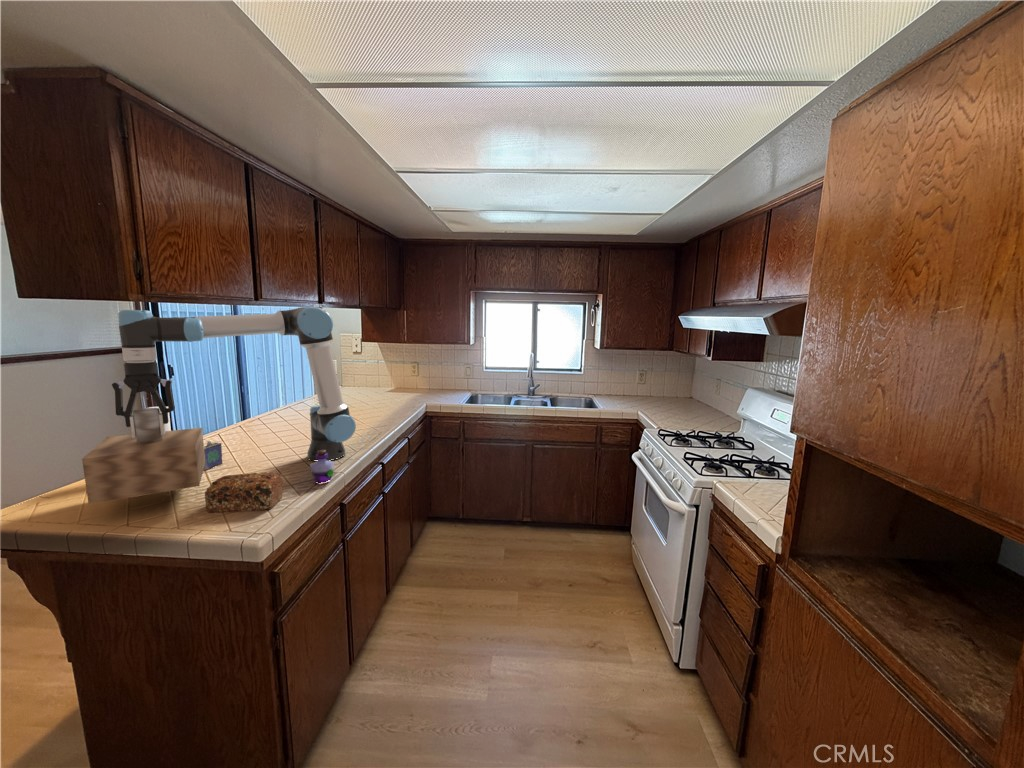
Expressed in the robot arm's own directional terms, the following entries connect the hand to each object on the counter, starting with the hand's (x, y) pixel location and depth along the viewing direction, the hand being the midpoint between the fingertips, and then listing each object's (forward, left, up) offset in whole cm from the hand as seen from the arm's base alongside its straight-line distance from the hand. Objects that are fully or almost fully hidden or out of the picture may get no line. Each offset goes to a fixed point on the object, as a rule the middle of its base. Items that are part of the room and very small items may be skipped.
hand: (149, 435), depth 125 cm
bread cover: (0, 0, -15) cm, 15 cm away
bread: (-24, +17, -22) cm, 37 cm away
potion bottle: (-48, +8, -22) cm, 53 cm away
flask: (-13, -29, -22) cm, 39 cm away
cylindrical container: (+2, -30, -22) cm, 37 cm away
